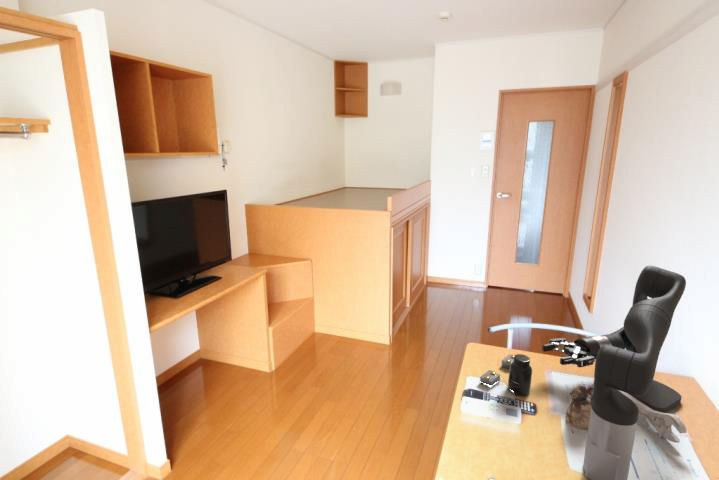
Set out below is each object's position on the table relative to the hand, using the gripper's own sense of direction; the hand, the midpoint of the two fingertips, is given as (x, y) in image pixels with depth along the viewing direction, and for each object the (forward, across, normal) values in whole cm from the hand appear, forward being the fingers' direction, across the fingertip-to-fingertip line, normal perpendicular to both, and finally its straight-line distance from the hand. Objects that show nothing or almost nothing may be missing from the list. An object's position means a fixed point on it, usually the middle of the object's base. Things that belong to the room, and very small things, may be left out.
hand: (551, 354), depth 130 cm
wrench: (-15, +20, +12) cm, 27 cm away
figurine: (+4, +18, +11) cm, 21 cm away
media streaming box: (-26, +13, +12) cm, 31 cm away
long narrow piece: (+12, -10, +11) cm, 19 cm away
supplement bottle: (+12, 0, +11) cm, 16 cm away
